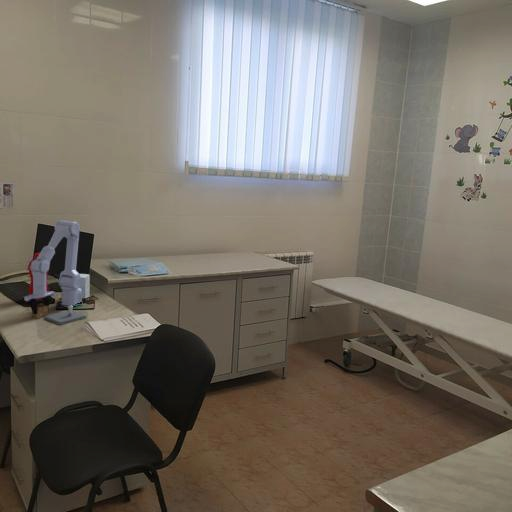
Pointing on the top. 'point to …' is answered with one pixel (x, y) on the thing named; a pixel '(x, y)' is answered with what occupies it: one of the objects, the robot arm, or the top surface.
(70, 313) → the metal post
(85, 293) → the small box
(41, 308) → the wooden cubby box
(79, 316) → the flat gray board
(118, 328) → the top surface
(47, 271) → the water bottle
